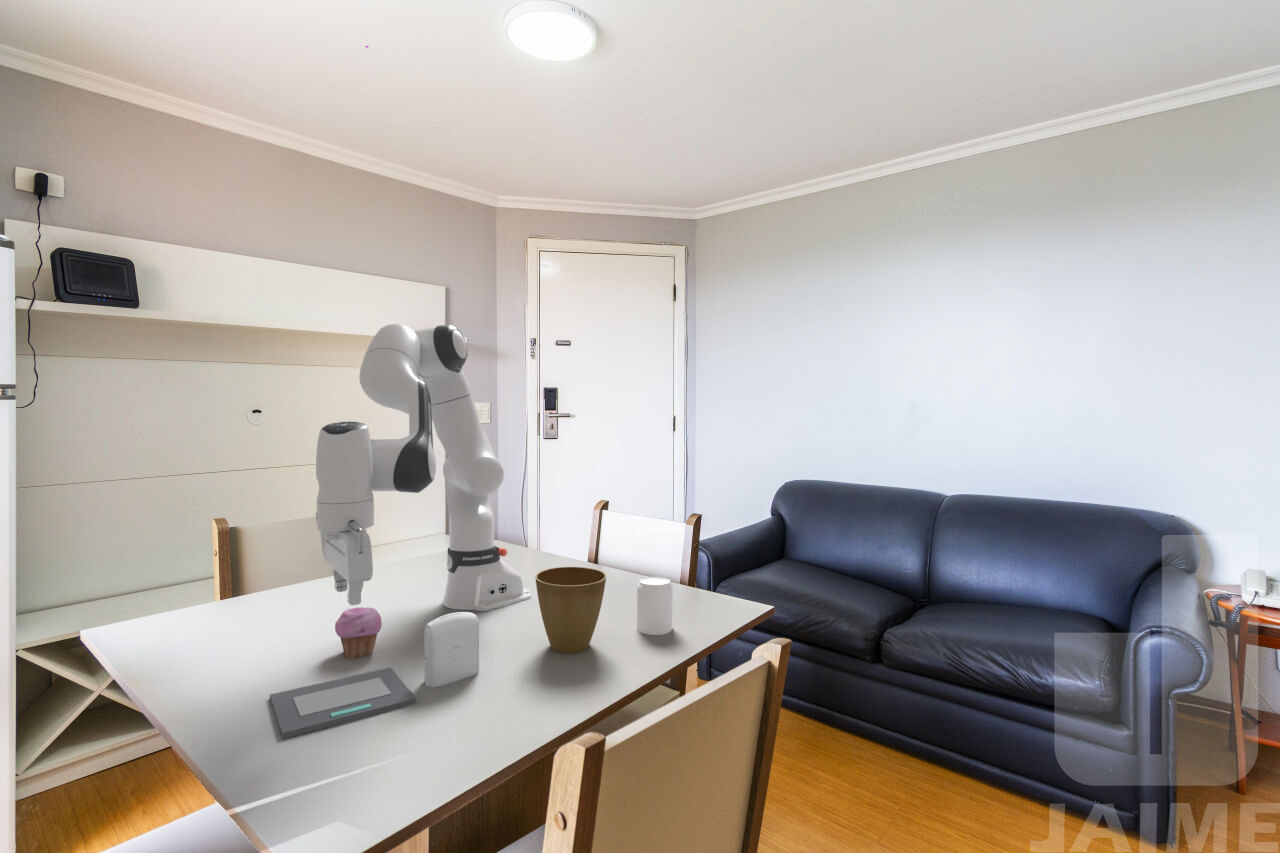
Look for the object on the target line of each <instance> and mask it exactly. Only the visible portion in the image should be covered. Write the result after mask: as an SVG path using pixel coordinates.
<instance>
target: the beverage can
mask: <svg viewBox="0 0 1280 853" xmlns="http://www.w3.org/2000/svg"><path fill="white" fill-rule="evenodd" d="M636 586H637V587H636V630H637V631H638V632H640V633H642V634H644V635H649V636H662V635H667V634H669V633H670V632H671V631H673V585H672V584H671V580H670V579H668V578H666V577H661V576H648V577H646V576H645V577H643V578H642V577H641V578H640V579H639V583H638V584H637V585H636ZM671 633H672V632H671Z"/></svg>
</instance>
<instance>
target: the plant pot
mask: <svg viewBox="0 0 1280 853" xmlns="http://www.w3.org/2000/svg"><path fill="white" fill-rule="evenodd" d="M534 577H535V584H536V586H535V587H536V592H537V600H538V604H539V605H538V606H539V610H540V614H541V617H542V618H541V619H542V622H543V627H544V631H545V632H546V636H547V639H548V642H549V645H550V647H551V649H552V650H553V651H554V652H555V653H556V652H557V653H559V654H566V655H567V654H578V653H581V652H584V651H586V650H587V649H588V648H589V646H590V643H591V640H592V637H593V636H594V632H595V630H596V626H597V623H598V620H599V616H600V612H601V608H602V603H603V598H604V595H605V594H604V593H605V588H606V581H607V574H606V573H605V572H603V571H602V570H600V569H599V570H598V569H596V568H591V567H584V566H581V567H580V566H559V567H552V568H546V569H543V570H541V571H539V572H537V573H536V574H535V576H534Z"/></svg>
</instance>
